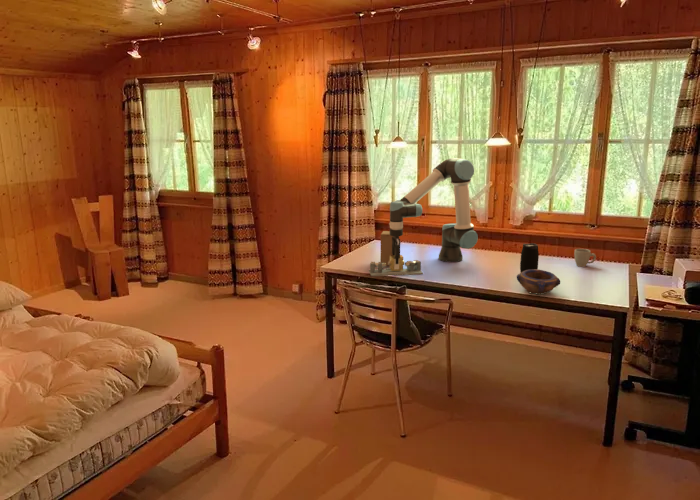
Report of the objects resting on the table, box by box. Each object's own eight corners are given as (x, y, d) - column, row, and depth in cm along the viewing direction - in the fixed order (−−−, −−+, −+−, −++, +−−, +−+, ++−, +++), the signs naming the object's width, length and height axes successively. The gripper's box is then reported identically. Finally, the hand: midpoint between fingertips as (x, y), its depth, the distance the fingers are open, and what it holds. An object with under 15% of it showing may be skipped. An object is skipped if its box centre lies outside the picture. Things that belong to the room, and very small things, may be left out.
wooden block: (396, 266, 317) (397, 234, 313) (380, 266, 319) (380, 234, 315) (398, 262, 327) (398, 231, 322) (382, 261, 329) (382, 230, 324)
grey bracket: (385, 272, 305) (385, 262, 304) (385, 274, 301) (385, 264, 300) (371, 271, 307) (371, 261, 305) (370, 273, 302) (370, 263, 301)
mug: (573, 266, 314) (574, 251, 312) (573, 263, 322) (575, 248, 320) (594, 268, 309) (596, 252, 307) (595, 265, 317) (596, 249, 315)
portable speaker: (537, 281, 286) (540, 246, 281) (519, 280, 288) (521, 245, 283) (536, 276, 294) (539, 243, 289) (519, 275, 296) (521, 242, 291)
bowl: (537, 299, 255) (538, 280, 253) (511, 289, 271) (512, 271, 269) (564, 294, 263) (565, 275, 260) (537, 285, 279) (538, 267, 276)
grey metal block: (417, 270, 309) (417, 260, 308) (420, 272, 305) (420, 261, 304) (404, 271, 306) (404, 261, 305) (407, 273, 302) (407, 263, 301)
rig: (418, 269, 310) (418, 266, 310) (422, 274, 301) (422, 271, 300) (368, 271, 307) (368, 268, 307) (371, 276, 297) (371, 273, 297)
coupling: (402, 268, 306) (403, 255, 304) (404, 270, 301) (405, 257, 300) (387, 268, 305) (388, 255, 303) (389, 270, 300) (389, 257, 299)
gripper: (386, 225, 306) (386, 264, 311) (392, 231, 289) (392, 272, 294) (399, 225, 307) (398, 263, 312) (406, 231, 289) (405, 271, 295)
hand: (395, 267), depth 303 cm, fingers closed on coupling, 5 cm apart
